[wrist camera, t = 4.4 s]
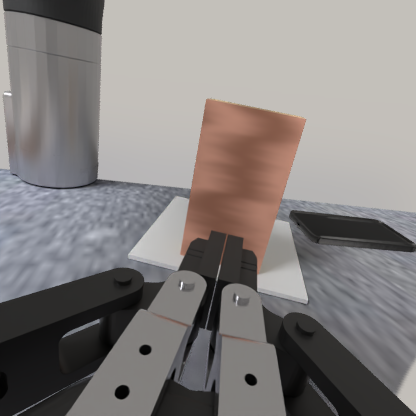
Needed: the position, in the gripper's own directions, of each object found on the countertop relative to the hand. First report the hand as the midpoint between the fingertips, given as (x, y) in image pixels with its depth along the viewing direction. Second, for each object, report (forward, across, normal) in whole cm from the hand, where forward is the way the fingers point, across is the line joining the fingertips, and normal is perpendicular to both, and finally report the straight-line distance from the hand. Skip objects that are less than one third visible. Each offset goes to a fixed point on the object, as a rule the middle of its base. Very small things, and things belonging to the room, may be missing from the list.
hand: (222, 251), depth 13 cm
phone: (+25, -16, +8) cm, 31 cm away
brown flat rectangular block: (+11, 0, +7) cm, 13 cm away
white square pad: (+15, 0, +7) cm, 17 cm away
